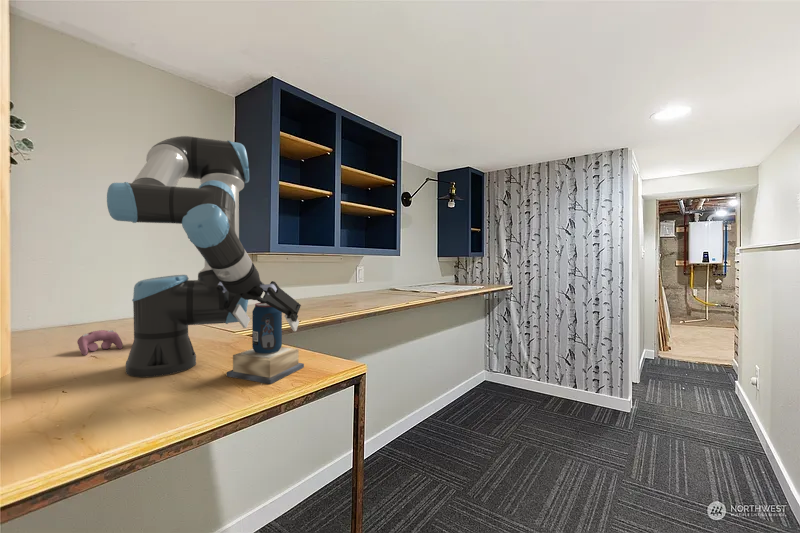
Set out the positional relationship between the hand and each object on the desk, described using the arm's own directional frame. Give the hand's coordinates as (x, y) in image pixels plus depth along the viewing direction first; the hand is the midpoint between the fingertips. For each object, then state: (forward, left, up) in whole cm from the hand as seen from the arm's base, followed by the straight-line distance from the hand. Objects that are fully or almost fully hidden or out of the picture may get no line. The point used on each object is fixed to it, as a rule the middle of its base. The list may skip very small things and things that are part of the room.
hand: (271, 325), depth 96 cm
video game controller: (-55, -7, -12) cm, 57 cm away
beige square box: (0, -2, -11) cm, 12 cm away
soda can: (+1, -2, -6) cm, 7 cm away
